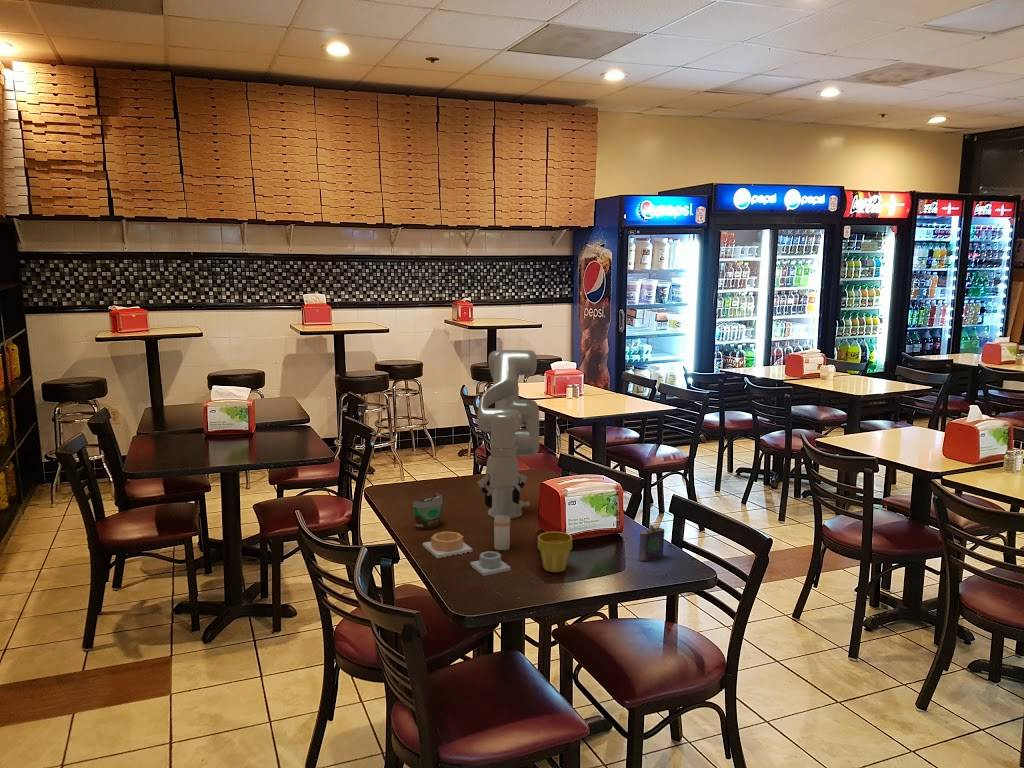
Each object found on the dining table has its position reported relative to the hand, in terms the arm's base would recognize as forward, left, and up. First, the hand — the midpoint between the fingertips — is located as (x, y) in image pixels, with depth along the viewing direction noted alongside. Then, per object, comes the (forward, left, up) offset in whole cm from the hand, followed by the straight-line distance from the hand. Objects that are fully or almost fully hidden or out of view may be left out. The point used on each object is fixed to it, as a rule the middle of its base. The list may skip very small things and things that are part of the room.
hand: (502, 504), depth 238 cm
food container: (+12, -30, -15) cm, 35 cm away
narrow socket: (+11, +12, -14) cm, 22 cm away
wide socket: (+16, -8, -14) cm, 23 cm away
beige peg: (0, -1, -14) cm, 14 cm away
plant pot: (-6, +21, -15) cm, 27 cm away
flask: (-37, +28, -15) cm, 49 cm away
